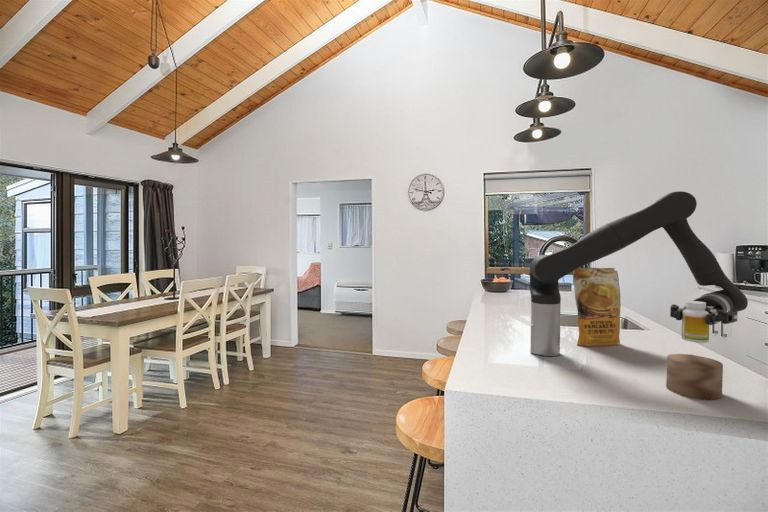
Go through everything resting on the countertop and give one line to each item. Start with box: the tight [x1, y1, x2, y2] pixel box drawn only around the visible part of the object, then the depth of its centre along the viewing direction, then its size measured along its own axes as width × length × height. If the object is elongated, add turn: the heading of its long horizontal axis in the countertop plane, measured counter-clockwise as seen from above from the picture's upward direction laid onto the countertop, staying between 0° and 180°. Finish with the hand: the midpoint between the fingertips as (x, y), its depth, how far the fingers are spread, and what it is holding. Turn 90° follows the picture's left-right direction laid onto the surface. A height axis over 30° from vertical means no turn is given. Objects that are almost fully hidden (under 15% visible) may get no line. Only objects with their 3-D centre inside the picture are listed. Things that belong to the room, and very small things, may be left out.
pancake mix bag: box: [572, 267, 622, 347], centre depth 141 cm, size 7×19×28 cm, turn 94°
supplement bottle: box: [681, 300, 710, 344], centre depth 97 cm, size 5×5×10 cm
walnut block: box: [665, 353, 724, 401], centre depth 98 cm, size 11×11×8 cm
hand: (692, 317), depth 95 cm, fingers closed on supplement bottle, 5 cm apart
